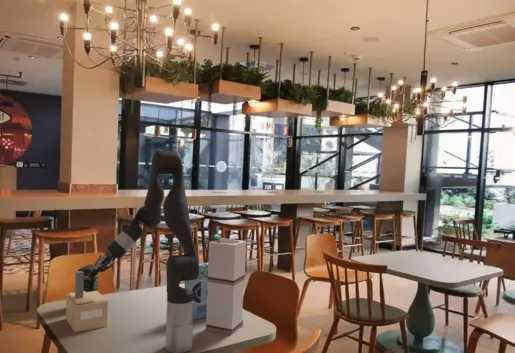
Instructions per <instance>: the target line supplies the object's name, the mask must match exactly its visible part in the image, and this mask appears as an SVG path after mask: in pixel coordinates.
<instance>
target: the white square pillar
mask: <svg viewBox="0 0 515 353" xmlns="http://www.w3.org/2000/svg"><path fill="white" fill-rule="evenodd" d="M246 255H247V240H241V239H240V240H239V239H233V238H232V239H231V238H222V237H220V240H219V242H215V241H209V242H208V288H207V316H206V317H205V318H206V321H205V322H206V323H205V325H206V326H205V330H207V331H212V332H217V333H221V334H222V333H223V334H227V335H231V336H233V334H234V333H236V332H237V331H239V329H241V328H242V327H243V326H244V320H243V306H244V284H245V279H246Z"/></svg>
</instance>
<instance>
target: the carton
mask: <svg viewBox="0 0 515 353" xmlns="http://www.w3.org/2000/svg"><path fill="white" fill-rule="evenodd" d="M86 293H87V294H88V295H89V296H90V297H91V298H92V299H93V300H94V302H90V303H83V304H76V303H75V302H74V300H73V299H72V298H71V297H70V295H69V294H66V306H65V307H66V308H65V320H66V321H67V323H68V324H69V326H70V328H71V330H72V331H73V333H78V332H80V333H81V332H84V331H89V330H95V329H100V328H106V327H107V326H108V304H109V303H108V302H109V301H108V300H107V299H106V298H105V297H104V296H103V295H102V294H101V293H100V292H99V290H98V291H91V292H86Z"/></svg>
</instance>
